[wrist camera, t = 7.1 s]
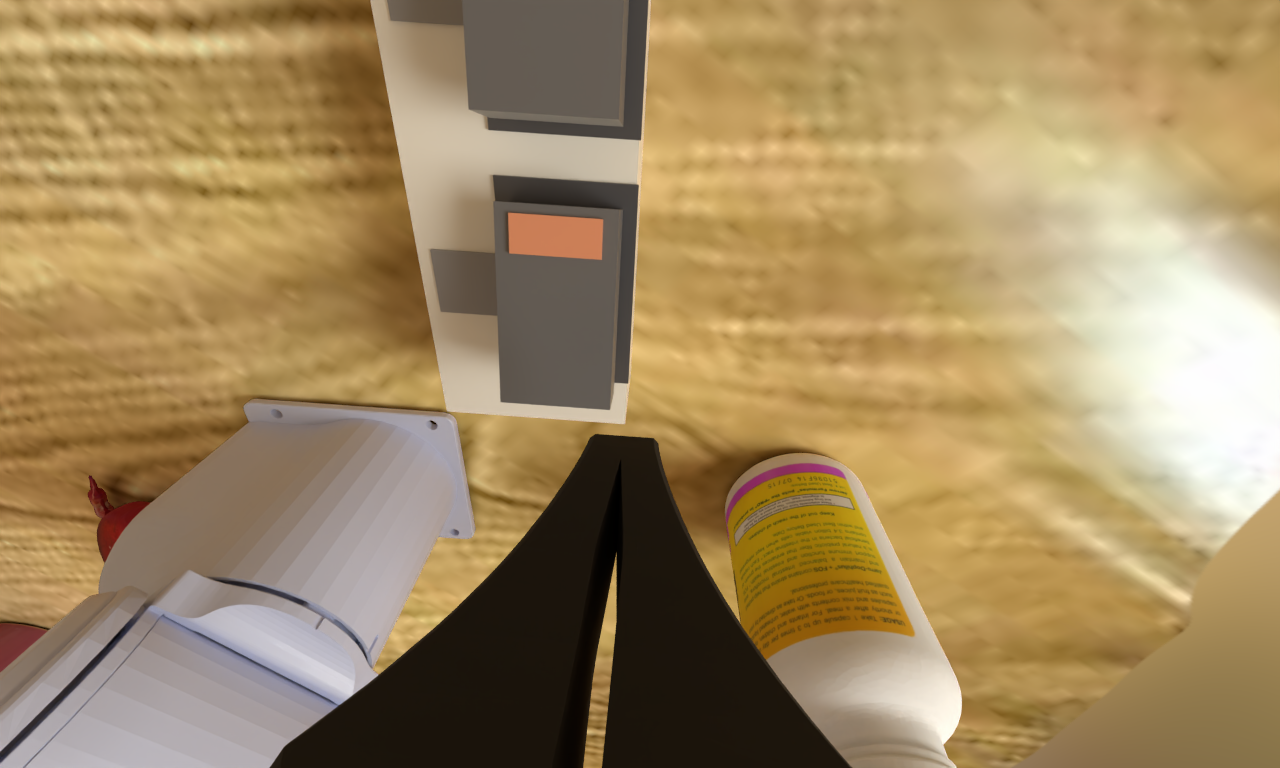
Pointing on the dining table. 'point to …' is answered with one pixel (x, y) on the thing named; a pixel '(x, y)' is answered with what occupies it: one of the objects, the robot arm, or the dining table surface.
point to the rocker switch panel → (499, 192)
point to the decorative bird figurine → (111, 517)
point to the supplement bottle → (839, 613)
